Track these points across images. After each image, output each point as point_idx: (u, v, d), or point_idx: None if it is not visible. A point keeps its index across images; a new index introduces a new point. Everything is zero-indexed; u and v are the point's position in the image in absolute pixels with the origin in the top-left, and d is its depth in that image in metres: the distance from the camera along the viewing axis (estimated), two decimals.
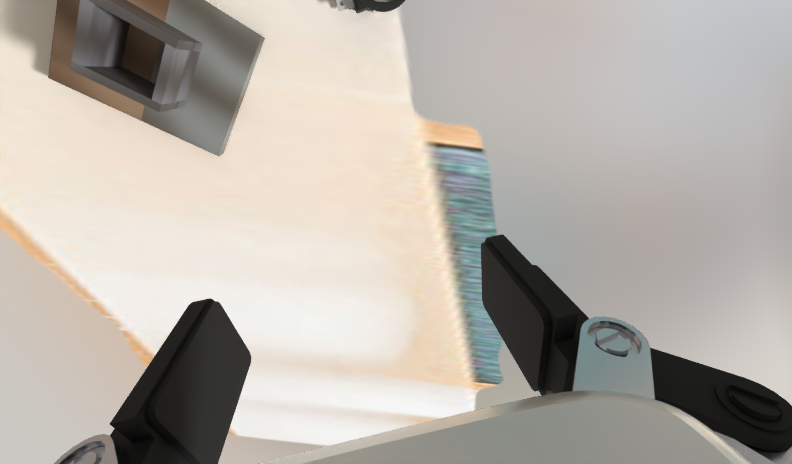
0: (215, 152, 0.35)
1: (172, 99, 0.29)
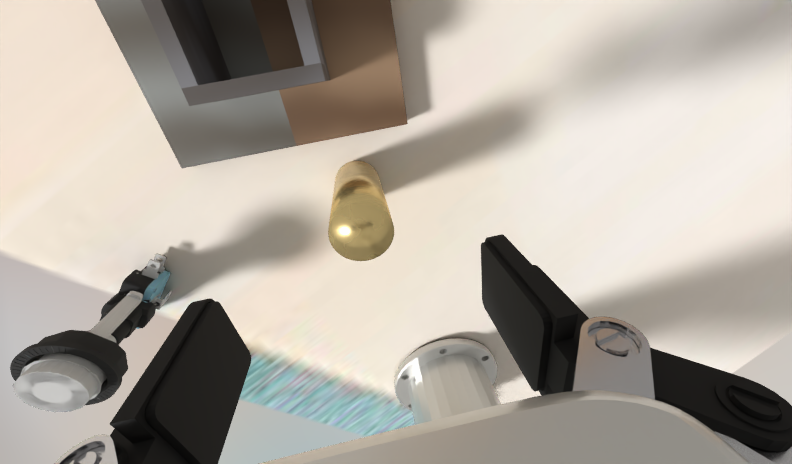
0: None
1: None
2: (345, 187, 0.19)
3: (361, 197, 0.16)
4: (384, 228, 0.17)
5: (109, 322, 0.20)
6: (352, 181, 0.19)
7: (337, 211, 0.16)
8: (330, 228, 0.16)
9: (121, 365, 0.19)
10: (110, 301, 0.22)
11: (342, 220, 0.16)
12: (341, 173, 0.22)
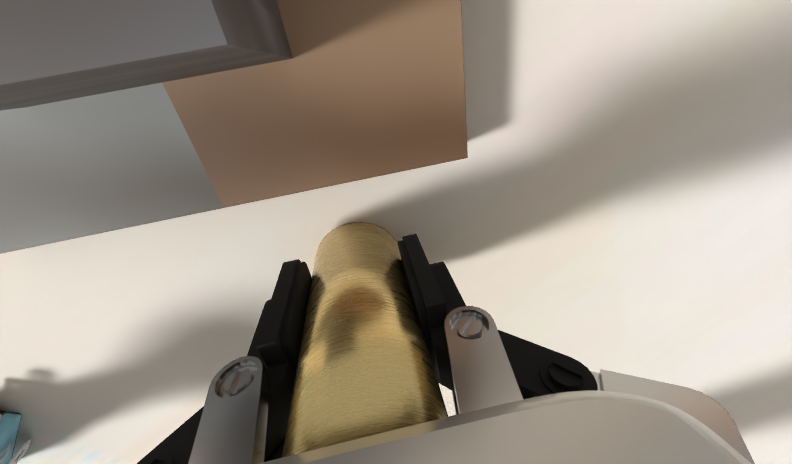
0: None
1: None
2: (328, 339, 0.07)
3: None
4: None
5: None
6: (347, 312, 0.08)
7: None
8: None
9: None
10: None
11: None
12: (325, 260, 0.10)
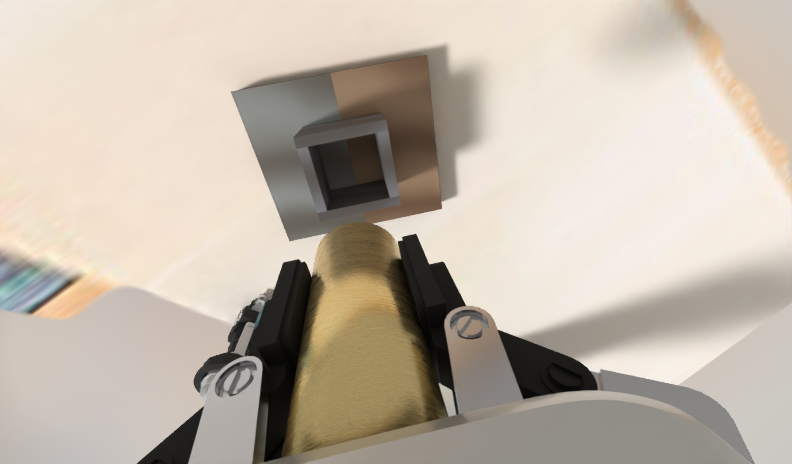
0: (237, 94, 0.24)
1: None
2: (328, 339, 0.07)
3: None
4: None
5: (242, 345, 0.30)
6: (347, 312, 0.08)
7: None
8: None
9: None
10: (234, 329, 0.32)
11: None
12: (324, 259, 0.10)
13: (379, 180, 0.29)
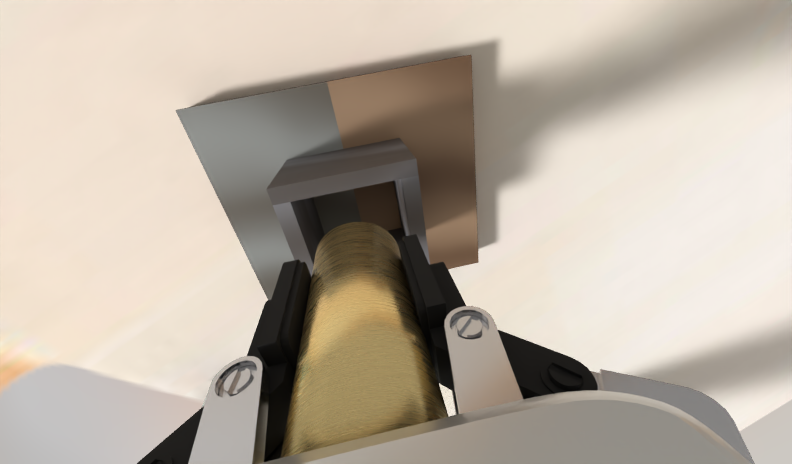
0: (186, 113, 0.16)
1: None
2: (327, 339, 0.07)
3: None
4: None
5: None
6: (347, 311, 0.08)
7: None
8: None
9: None
10: None
11: None
12: (324, 259, 0.10)
13: (396, 229, 0.21)
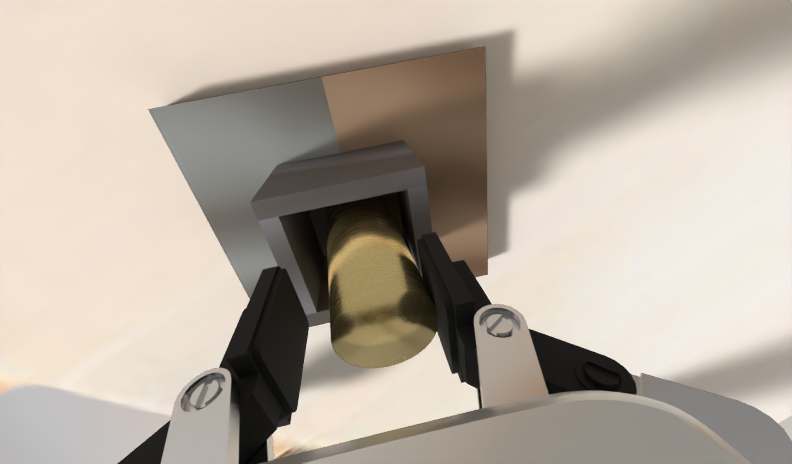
0: (161, 113, 0.14)
1: None
2: (349, 241, 0.12)
3: (385, 274, 0.10)
4: (423, 321, 0.10)
5: None
6: (359, 228, 0.12)
7: (346, 305, 0.09)
8: (334, 332, 0.09)
9: None
10: None
11: (354, 319, 0.09)
12: (336, 205, 0.15)
13: None
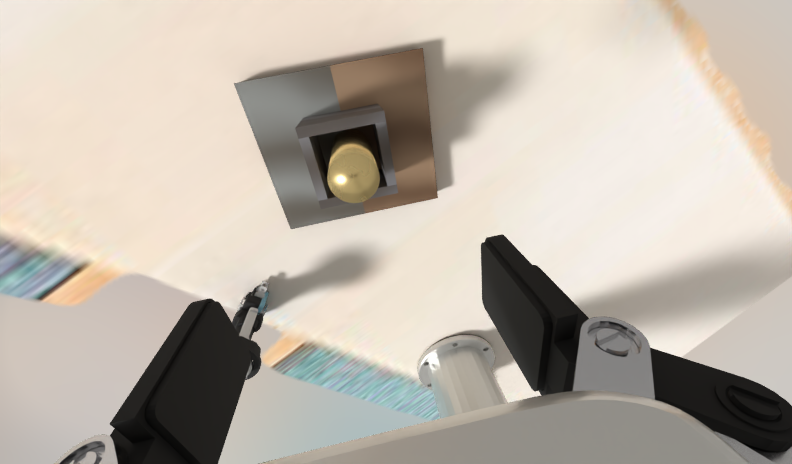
0: (240, 85, 0.25)
1: None
2: (340, 145, 0.23)
3: (353, 150, 0.21)
4: (371, 174, 0.21)
5: (247, 329, 0.31)
6: (346, 141, 0.23)
7: (334, 160, 0.20)
8: (328, 175, 0.20)
9: None
10: (238, 314, 0.33)
11: (337, 168, 0.20)
12: (337, 138, 0.26)
13: None
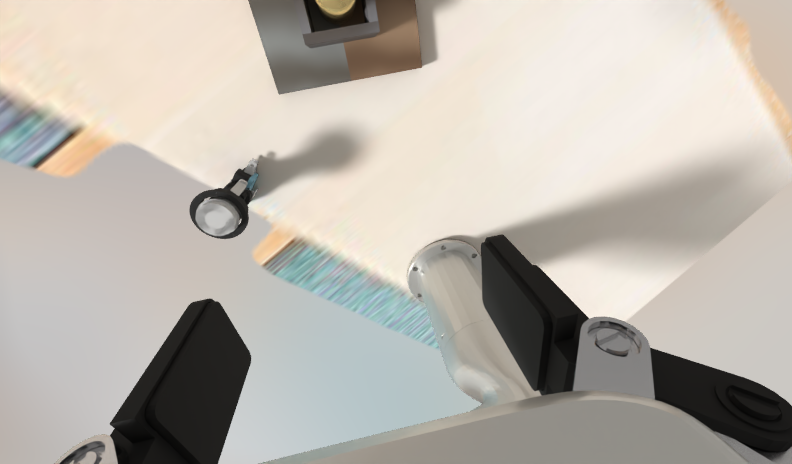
0: None
1: None
2: None
3: None
4: None
5: (235, 191, 0.32)
6: None
7: None
8: None
9: None
10: (228, 185, 0.34)
11: None
12: None
13: None
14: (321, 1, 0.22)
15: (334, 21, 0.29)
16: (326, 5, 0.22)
